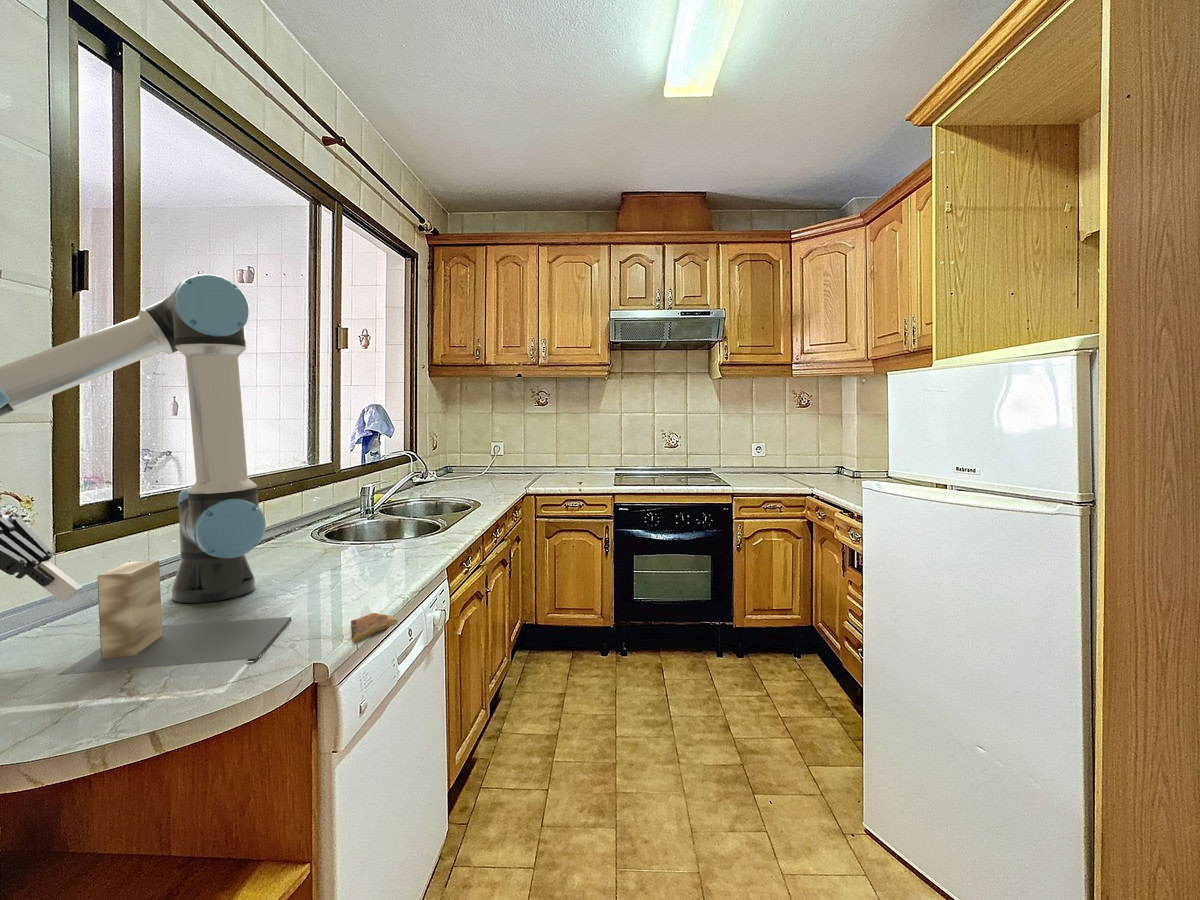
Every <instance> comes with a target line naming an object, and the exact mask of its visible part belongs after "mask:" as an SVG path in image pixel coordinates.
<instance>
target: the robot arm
mask: <svg viewBox="0 0 1200 900" xmlns="http://www.w3.org/2000/svg"><path fill="white" fill-rule="evenodd" d="M249 315H250V307H249V301H248V300H247V296H246V295H245V294H244V292H243V291H242V290H241V288H240V287H239V286H237V285H236V283H234V282H233V281H231V280H229V279H227V278H226V277H223V276H221V275H216V274H212V273H211V274H210V273H209V274H207V273H204V274H203V273H202V274H198V275H197V274H196V275H193V276H189V277H187V278H185V279H183V280H182V281H180V282H179V284H178V285H177V286H176V287H175V289H174V290H173V291H172V292H171V293H170V294H169V295H167V296H166V297H165V298H163V299H162V300H160V301H158V302H156V303H154V304H152V305H150V306H147V307H144V308H141V309H140V310H139V311H138V314H137V316H136V317H133V318H130V319H127V320H125V321H122V322H119V323H117V324H113V325H112V326H111V325H110V326H109V327H106V328H102V329H100V330H97V331H94V332H91V333H89V334H87V335H84V336H81V337H78V338H76V339H73V340H70V341H68V342H64V343H62V344H59V345H56V346H54V347H50V348H48V349H45V350H42V351H40V352H38V353H37V352H36V353H34V354H31V355H28V356H27V357H24V358H21V359H18V360H17V359H16V360H15V361H12V362H9V363H6V364H3V365H1V366H0V417H2V416H5V415H7V414H9V413H12V412H14V411H17V410H18V409H21V408H24V407H26V406H28V405H32V404H33V403H36V402H39V401H42V400H44V399H46V398H49V397H51V396H55V395H56V394H59V393H61V392H63V391H64V392H65V391H67V390H68V389H71V388H74V387H77V386H80V385H81V384H84V383H87V382H89V381H91V380H94V379H97V378H99V377H101V376H104V375H106V374H109V373H111V372H114V371H117V370H119V369H121V368H124V367H126V366H130V365H131V364H133V363H136V362H139V361H141V360H143V359H146V358H149V357H152V356H154V355H156V354H159V353H165V354H168V355H170V354H173V353H177V352H178V351H179V352H180V353H181V354H182V355H183V356H184V357H185V365H186V367H185V368H186V374H187V375H186V376H187V377H186V378H187V387H188V400H189V410H190V423H191V436H192V446H193V456H194V468H195V469H194V470H195V480H196V481H195V483H194V484H193V485H192V486H191V487H190V488H186V489H183V490H181V491H180V492H179V494H178V500H177V501H178V502H177V507H178V517H179V521H178V522H179V544H180V545H179V548H180V551H179V552H180V562H179V565H178V569H177V571H176V575H175V578H174V581H173V582H172V588H171V598H172V600H173V601H174V602H177V603H183V604H185V603H186V604H197V603H199V604H200V603H208V602H209V603H210V602H211V603H212V602H218V601H224V600H228V599H233V598H237V597H238V598H239V597H240V596H243V595H246V594H249V593H251V592H253V591H254V590H255V589H256V578H255V575H254V573H253V571H252V568H251V567H250V564H249V561H248V559H247V556H246V554H249V553H250V552H252V551H253V550H254V549H255V548H256V547H257V546H258V545H259V544H260V543H261V541H262V539H263V538H264V535H265V533H266V525H267V524H266V518H265V515H264V513H263V510H262V509H261V508H260V507H259V493H258V484H256V483H255V481H253V480H252V479H250V478H249V476H248V468H247V454H246V453H247V452H246V442H245V441H246V440H245V431H244V430H245V429H244V428H245V427H244V415H243V404H242V403H243V402H242V392H241V391H242V390H241V379H240V378H241V377H240V368H239V366H240V365H239V357H240V355H242V354H243V353H244V352H245V351H246V350H247V341H246V340H247V339H246V330H245V329H246V328H245V326H246V324H247V322H248V319H249ZM53 557H54V552H53V551H52V550H51V549H50V547H48V545H46V543H45V542H43V541H42V539H41V538H40V537H38V535H37V534H36V533H35V532H33V530H32V529H31V528H30V527H29V525H28V524H26V523H25V522H24V519H23V518H22V516H21V514H20V513H17V512H12V513H11V514H10V515H8V514H2V512H1V511H0V571H2V572H3V573H6V574H7V575H9V576H14V575H15V574H17V575H16V576H15V578H16V579H20V580H21V579H23V578H24V576H28V577H29V578H30V579H32V580H33V581H34V582H35V583H37V584H38V585H40V586H41V587H42V588H44V589H45V590H46V591H47V592H49V594H51V595H53V597H55V598H57V600H59V601H61V602H62V603H65V602H68V601H69V600H71V599H72V598H73V597H74V596H75V595H76V594H77V593H79V591H81V589H82V588H83V586H81V585H80V584H79V583H78V582H76V581H75V580H74V579H73V578H72V577H70V576H68V575H67V574H66V573H65V572H63V570H61V569H59V568H58V567H57V566H56V565H55V564H53V563H52V562H51V561H50V560H51V559H52V558H53Z"/></svg>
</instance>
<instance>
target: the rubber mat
mask: <svg viewBox="0 0 1200 900" xmlns="http://www.w3.org/2000/svg"><path fill="white" fill-rule="evenodd" d="M291 621H292V616H289V617H288V616H286V617H285V616H283V617H271V618H259V619H258V618H256V619H255V618H254V619H244V620H242V619H241V620H240V619H239V620H231V621H230V620H227V621H215V622H214V621H213V622H202V623H186V624H171V625H170V624H169V625H162V636H161V637H160V638H158V639H157V640H155V641H154V642H153V643H151V644H150V645H149V646H147V647H146V648H144V649H143V650H142V651H140V652H139V653H137V654H136V655H135V656H124V657H111V658H102V656H101V647H99V648H97V649H95V651H93V652H91V653H90V654H88V655H87V656H85V657H84V658H82V659H80V660H79V661H77V662H75V663H73V664H72V665H71V666H69V667H67V668H66V669H65V670H64V669H63V671H61V672H60V673H58V674H57V676H61V675H72V674H73V675H74V674H83V673H84V674H85V673H95V672H108V671H122V670H132V669H146V668H155V667H157V668H158V667H169V666H180V665H192V664H193V665H194V664H203V663H204V664H205V663H215V662H216V663H217V662H218V663H219V662H229V661H239V660H241V661H243V660H246V661H256V660H257V659H258V658H259V656H260V655H261V654H262V653H263V652H264V651H265V652H266V651H267V649H268V648H269V647H270V646H271V645H272V643H273V642H274V641H276V639H277V638H276V637H279V635H280V634H281V633H282V632H283V631H284V630H285V628H286V627H287V626H288V625H289V623H290V622H291ZM281 631H282V632H281ZM270 644H271V645H270ZM269 645H270V646H269ZM268 646H269V647H268ZM266 648H267V649H266ZM265 652H264V653H265ZM264 653H263V654H264ZM263 654H262V655H263ZM262 655H261V656H262ZM261 656H260V657H261ZM259 659H260V658H259ZM259 659H258V660H259ZM258 660H257V661H258ZM257 661H256V662H257Z"/></svg>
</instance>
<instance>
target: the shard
mask: <svg viewBox="0 0 1200 900" xmlns="http://www.w3.org/2000/svg"><path fill="white" fill-rule="evenodd" d="M398 623H399V620H398V619H397V618H396V617H393V616H391V615H388V614H383V613H379V612H377V613H376V612H371V613H368V614H366V615H364V616H360V617H358V618H355V619H352V620H350V633H351V636H350V637H351V640H352V641H351V642H353V643H357V642H359V641H360V640H362V639H364V638H367V637H368V636H371V635H372V634H376V633H377V632H380V631H382V630H385V629H388V628H390V627H393V626H395V625H396V624H397V625H398Z"/></svg>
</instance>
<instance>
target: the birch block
mask: <svg viewBox="0 0 1200 900" xmlns="http://www.w3.org/2000/svg"><path fill="white" fill-rule="evenodd" d="M97 596H98V619H99V637H100V638H99V641H100V648H101V656H102V658H111V657H124V656H135V655H136V654H137V653H139V652H140V651H142V650H143V649H144V648H146V647H147V646H149V645H150V644H151V643H153V642H154V641H155V640H157V639H158V638H160V637H161V636H162V626H163V624H162V622H163V620H162V616H163V615H162V597H161V596H162V595H161V571H160V560H159V559H158V560H156V559H155V560H141V561H139V560H137V561H127V562H126V563H123V564H121V565H119V566H116V567H115V568H112V569H109V570H107V571H104V572H102V573H100V574H97Z"/></svg>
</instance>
